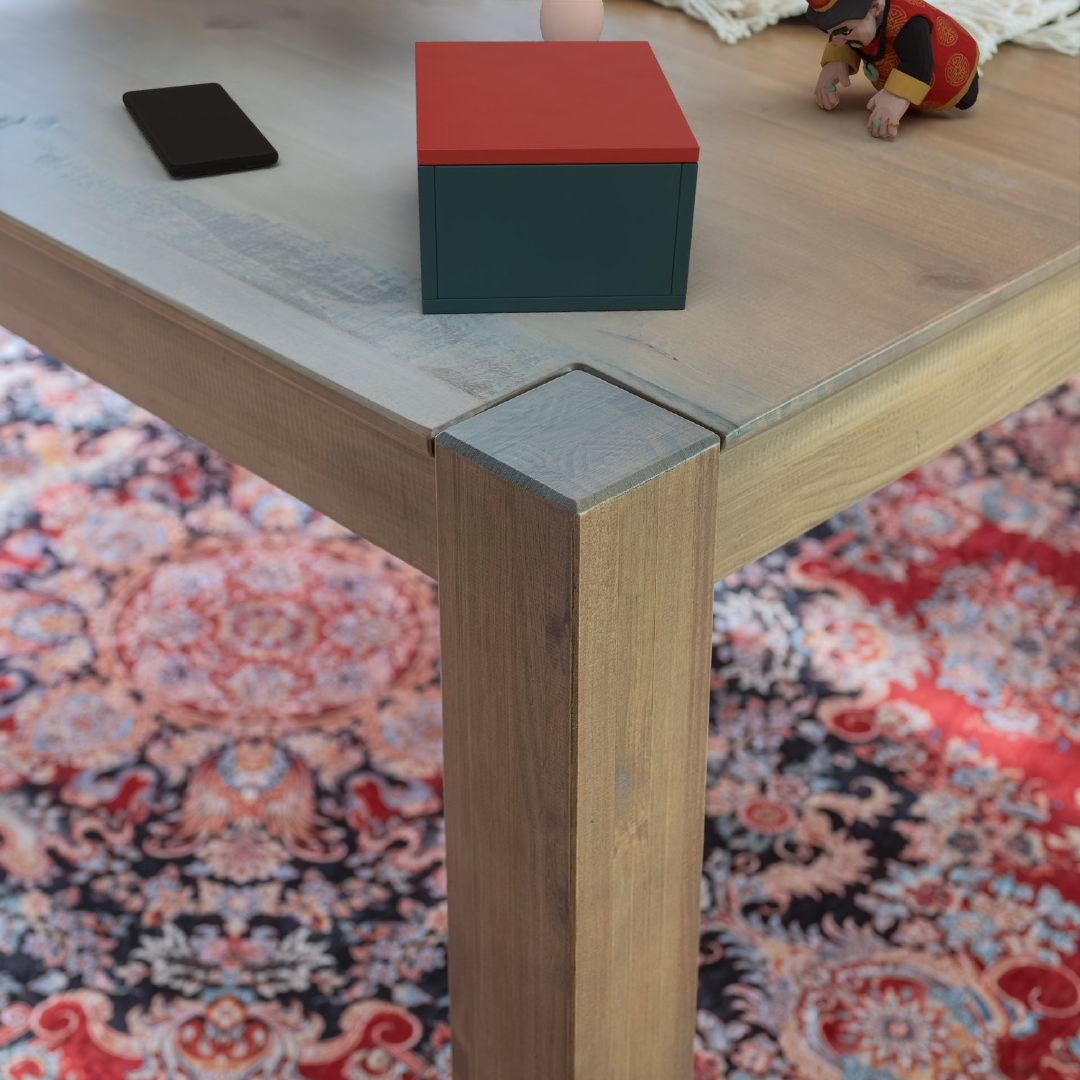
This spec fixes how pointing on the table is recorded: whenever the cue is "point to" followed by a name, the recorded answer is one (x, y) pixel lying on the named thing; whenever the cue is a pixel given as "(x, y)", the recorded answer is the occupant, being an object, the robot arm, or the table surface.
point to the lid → (546, 104)
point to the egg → (571, 20)
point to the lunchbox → (555, 236)
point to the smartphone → (198, 129)
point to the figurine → (895, 57)
